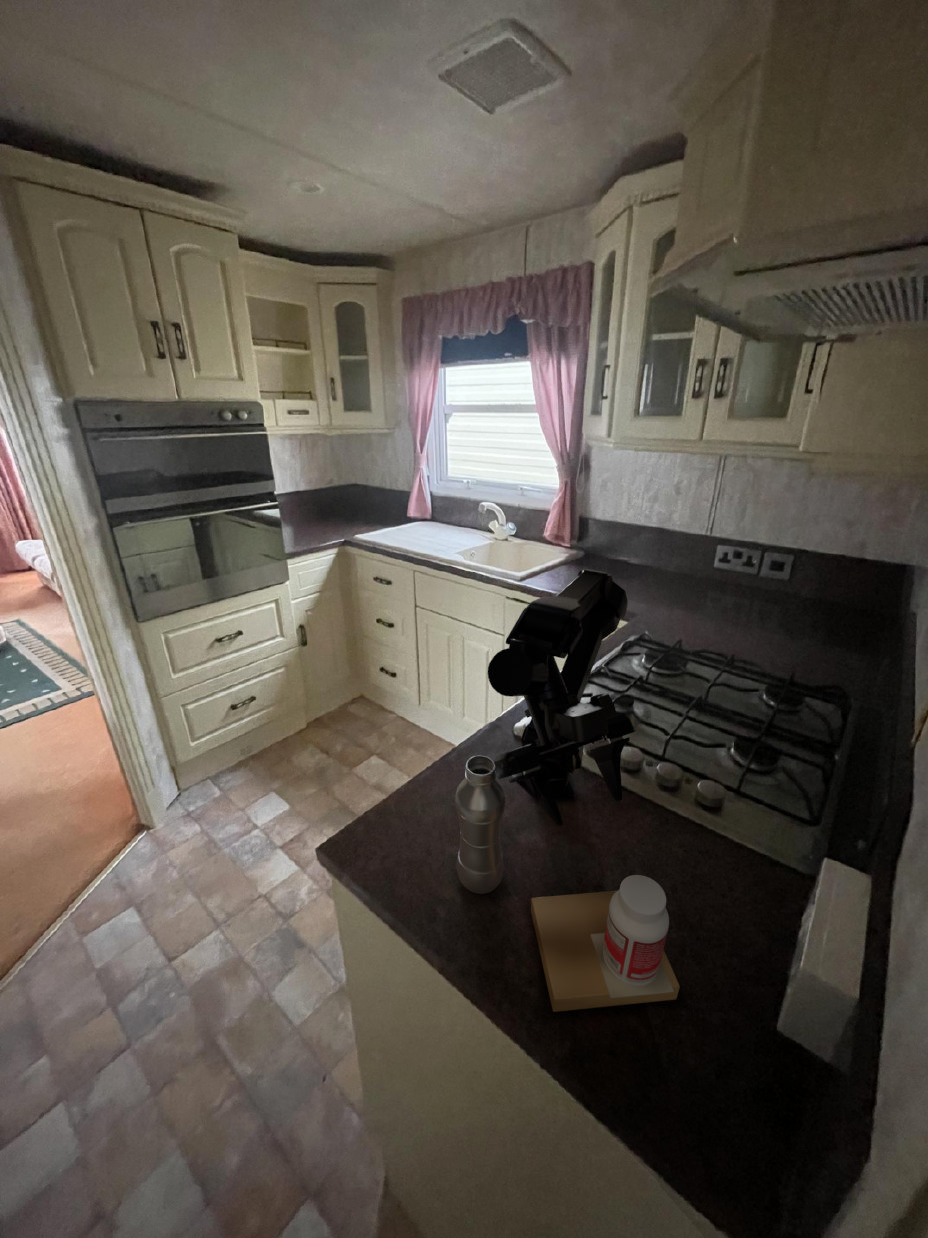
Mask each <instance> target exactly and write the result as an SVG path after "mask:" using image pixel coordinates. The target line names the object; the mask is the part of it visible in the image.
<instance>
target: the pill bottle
mask: <svg viewBox="0 0 928 1238" xmlns="http://www.w3.org/2000/svg"><path fill="white" fill-rule="evenodd" d="M616 891H617V892H616V893H615V894H614V895H613V896H612V898H611V901H610V905H609V911H608V918H607V924H606V930H605V937H604V944H603V956H604V960H605V963H606V965H607V967H608V968H609V970H610V971H611V972H612V974H613V975H614V976H615V977H617V978H618V979H619V980H621V981H623V982H624V983H627V984H629V985H633V986H643V985H647V984H649V983H650V982H652V981H653V980H654V979H655V977H656V976H657V974H658V971H659V967H660V963H661V959H662V954H663V950H664V951H665V945H666V940H667V936H668V932H669V928H670V927H669V926H670V916H669V913H668V910H667V908H666V907H667V896H666V893H665V890H664V889H663V887H662V886H661V885H660V884H659V883H658V882H657V881H655V880H654V879H652V878H651V877H648V876H646V875H642V874H632V875H628V876H626V877H624V879H622V881H621V883H620V886H619V889H618V890H616Z"/></svg>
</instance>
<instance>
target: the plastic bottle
mask: <svg viewBox="0 0 928 1238" xmlns="http://www.w3.org/2000/svg"><path fill="white" fill-rule="evenodd" d="M496 776H497V774H496V771H495V764H494V760H493V759H491V757H489V756H487V755H486V756H485V755H473V756H471V757H470V758H469V759H467V761H466V763H465V772H464V778H463V780H462V781H461V782H460V783H459V784H458V786H457V789H456V791H455V794H454V795H455V796H454V801H455V807H456V812H457V813H456V814H457V818H458V824H459V825H458V826H459V834H460V835H459V836H460V837H459V838H460V839H459V848H458V849H459V850H458V852H457V858H456V872H457V877H458V880H459V881H460V883H461V884H462V886H463V887H464V888H465V889H467V890H468V891H470V892H472V893H473V894H478V895H486V894H488V893H489V894H490V893H491V892H492V891H494V890H496V889H497V887H499V886H500V884H501V882H502V880H503V875H504V872H505V865H504V858H503V853H502V847H501V830H502V829H501V828H502V820H503V816H504V811H505V807H506V795H505V792H504V789H503V787H502V786H501V784H500V783H499V782H498V781H497V779H496V778H497V777H496Z"/></svg>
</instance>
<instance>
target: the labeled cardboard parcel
mask: <svg viewBox="0 0 928 1238" xmlns="http://www.w3.org/2000/svg"><path fill="white" fill-rule="evenodd" d="M617 891H618V890H610V891H609V890H608V891H596V892H585V893H575V894H563V895H562V894H560V895H553V896H552V895H549V896H539V897H538V896H537V897H531V902H530V904H531V905H530V913H531V917H532V922H533V927H534V932H535V936H536V941H537V946H538V949H539V954H540V959H541V963H542V964H541V965H542V969H543V973H544V978H545V982H546V986H547V991H548V997H549V1001H550V1004H551V1010H552V1012H553V1013H555V1012H556V1013H557V1012H567V1011H575V1010H586V1009H596V1008H597V1009H598V1008H607V1007H615V1006H624V1005H634V1004H643V1003H644V1004H645V1003H655V1002H664V1001H665V1002H666V1001H674V1000H677V998H678V994H679V992H680V987H681V986H680V983H679V982H678V979H677V977H676V975H675V972H674V970H673V967H672V965H671V963H670V961H669V958H668V956H667V954H666V952H665V949H664V950H663V954H662V959H661V963H660V967H659V971H658V974H657V976H656V977H655V979H654V980H653V981H652V982H650V983H649V984H647V985H643V986H633V985H629V984H627V983H624V982H623V981H621V980H619V979H618V978H617V977H615V976H614V975H613V974H612V972H611V971H610V970H609V968H608V967H607V965H606V963H605V960H604V956H603V944H604V937H605V930H606V924H607V918H608V911H609V905H610V901H611V898H612V896H613V895H614V894H615V893H616V892H617Z"/></svg>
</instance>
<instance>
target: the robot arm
mask: <svg viewBox="0 0 928 1238" xmlns="http://www.w3.org/2000/svg"><path fill="white" fill-rule="evenodd" d="M628 603H629V601H628V596H627V592H626V590H625V589H624V588H623V587H622V586H620V584H618V583H616V582H615V581H614V580H613V576H612V575H611V574H609V573H608V572H604V571H598V570H593V569H587V568H585V569H581V570H579V572H578V573H577V576H576V578H575V579H574V580H572V581H571V582H570V583H569V584H568V585H567V586H566V587H564V588H563V589H562V590H561V591H559V593H558V594H556V595H553V596H543V597H539V598H537V599H534V600H532V601H531V602H529V604H528V605H527V606H526V607H524V608H523V610H522V611H521V613H520V615H519V617H518V619H516V622H515V624H514V625H513V626H512V629H511V631H510V632H509V634H508V635H507V637H506V640H505V644H506V645H508V648H507V647H506V648H503V649H501V650H499V651H498V652H496V653H495V654H494V655H493V656H492V658H491V660H490V661H489V663H488V666H487V679H488V682H489V684H490V686H491V687H492V689H493V690H494V691H495V692H496V693H498V694H499V695H501V696H504V697H511V698H512V697H523V698H524V701H525V705H526V706H527V708H526V709H525V710H524V714H525V717H526V718H531V719H530V720H529V723H528V724H527V725H526V726H525V727H524V729H523V732H522V735H521V746H520V747H517V748H514V749H512V750H509V751H506V752H504V753H501V754H498V755H496V756H495V758H494V760H493V762H494V764H495V773H496V776H497V777H496V778H497V779H498V780H501V779H505V778H508V777H511V778H508V782H509V783H510V784H513V783H517V784H518V785H519V786H520V788H522V789H523V790H524V791H525V792H526V793H527V794H529V795H530V797H531V798H532V799H533V800H534V801H535V802H536V803H537V804H538V805H539V807H540V808H541V809H542V810H543V812H545V814H546V815H547V816H548V817H549V819H550V820H551V821H552V822H553V823H554V824H555V825H556V826H558V827H560V826H563V824H564V823H563V819H562V815H561V812H560V809H559V807H558V804H557V801H556V800H562V799H574V797H575V792H574V790H573V787H572V784H571V782H570V779H569V778H570V774H573V773H574V772H575V770H577V769H581V768H582V767H583V759H584V758H583V757H584V749H585V746H588V745H590V744H592V745H594V748H592V749H589V752H590V753H591V756H592V758H593V760H594V762H595V764H596V766H597V768H598V770H599V773H600V774H601V776H602V779H603V781H604V783H605V784H606V787H607V789H608V791H609V792H610V794H611V796H612V797H613V799H614V801H616V802H621V801H622V800H623V787H622V772H621V771H622V770H621V763H622V762H621V759H622V752H623V750H624V747H625V745H626V744H627V743H629V742H630V739H631V738H630V736H629V737H624V736H628V735H630V734H632V733H635V732H636V728H635V727H634V724H633V722H632V719H631V718H630V717H628V716H627V715H626V714H625V713H619V714H617V710H616V709H617V708H616V705H615V703H614V701H613V700H612V698H611V695H610V694H609V693H606V692H600V693H598V694H594V695H591V696H590V697H589V698H590V699H589V701H587V702H581V701H582V699H583V695H584V692H585V690H586V687H587V684H588V681H589V678H590V676H591V673H592V670H593V668H594V666H595V665H594V664H595V662H596V659H597V657H598V654H599V650H600V648H601V646H602V643H603V640H605V639H606V638H607V637H609V636H610V635H611V634H613V633H615V632H616V631H617V629H618V627H619V624H620V621H621V620H623V619H624V618H625V616H626V614H627V609H628ZM556 658H559V659H562V660H563V659H564V660H565V661H564V664H563V666H562V668H561V670H560V669H559V668H560V667H559V666H558V663H557V660H556Z"/></svg>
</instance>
